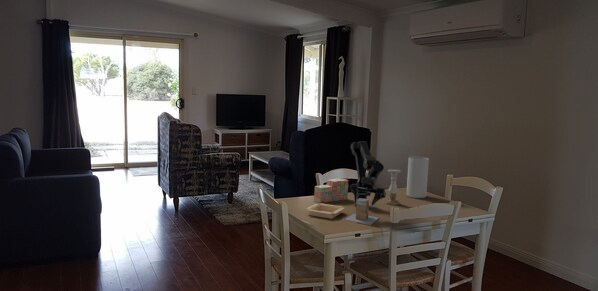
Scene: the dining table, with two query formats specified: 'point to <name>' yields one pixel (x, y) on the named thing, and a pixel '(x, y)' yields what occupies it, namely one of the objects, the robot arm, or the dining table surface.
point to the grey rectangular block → (362, 209)
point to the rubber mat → (367, 221)
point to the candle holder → (393, 188)
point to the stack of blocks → (331, 191)
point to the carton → (324, 210)
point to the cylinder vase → (417, 177)
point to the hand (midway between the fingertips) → (363, 204)
